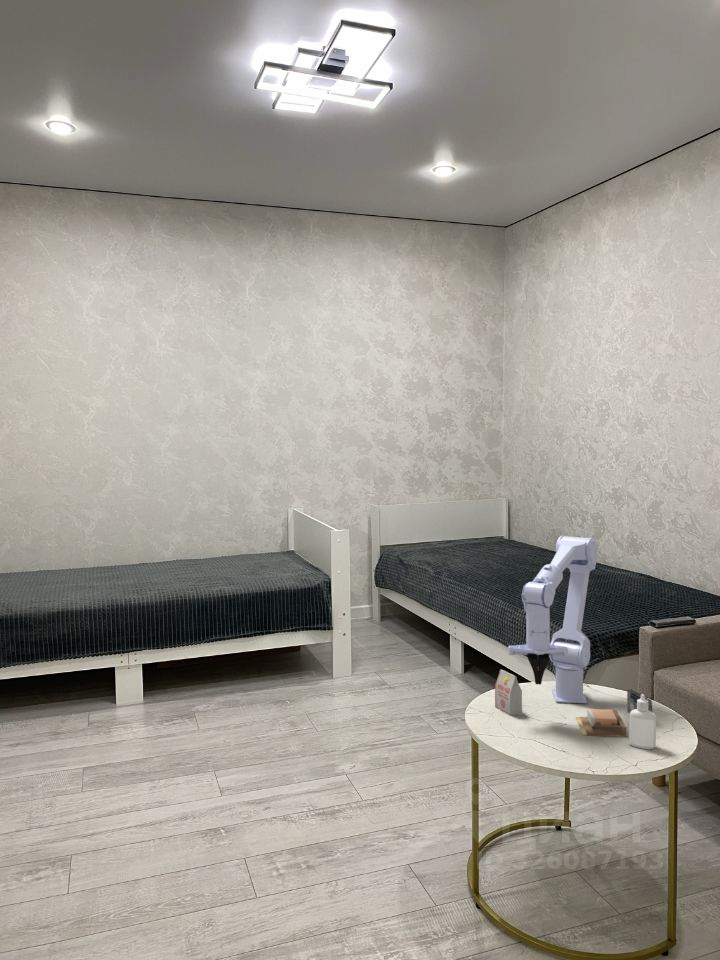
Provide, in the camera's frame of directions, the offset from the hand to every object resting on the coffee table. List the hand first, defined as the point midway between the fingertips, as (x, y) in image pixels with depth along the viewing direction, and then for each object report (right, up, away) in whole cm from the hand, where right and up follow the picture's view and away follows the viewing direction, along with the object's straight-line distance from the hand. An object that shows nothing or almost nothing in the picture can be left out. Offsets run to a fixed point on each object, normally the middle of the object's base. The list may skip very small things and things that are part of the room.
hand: (538, 683), depth 188 cm
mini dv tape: (+26, -9, +1) cm, 27 cm away
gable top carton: (-6, -9, +7) cm, 13 cm away
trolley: (+15, -9, -5) cm, 18 cm away
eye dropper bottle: (+20, -10, -16) cm, 28 cm away
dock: (+15, -9, -5) cm, 18 cm away
